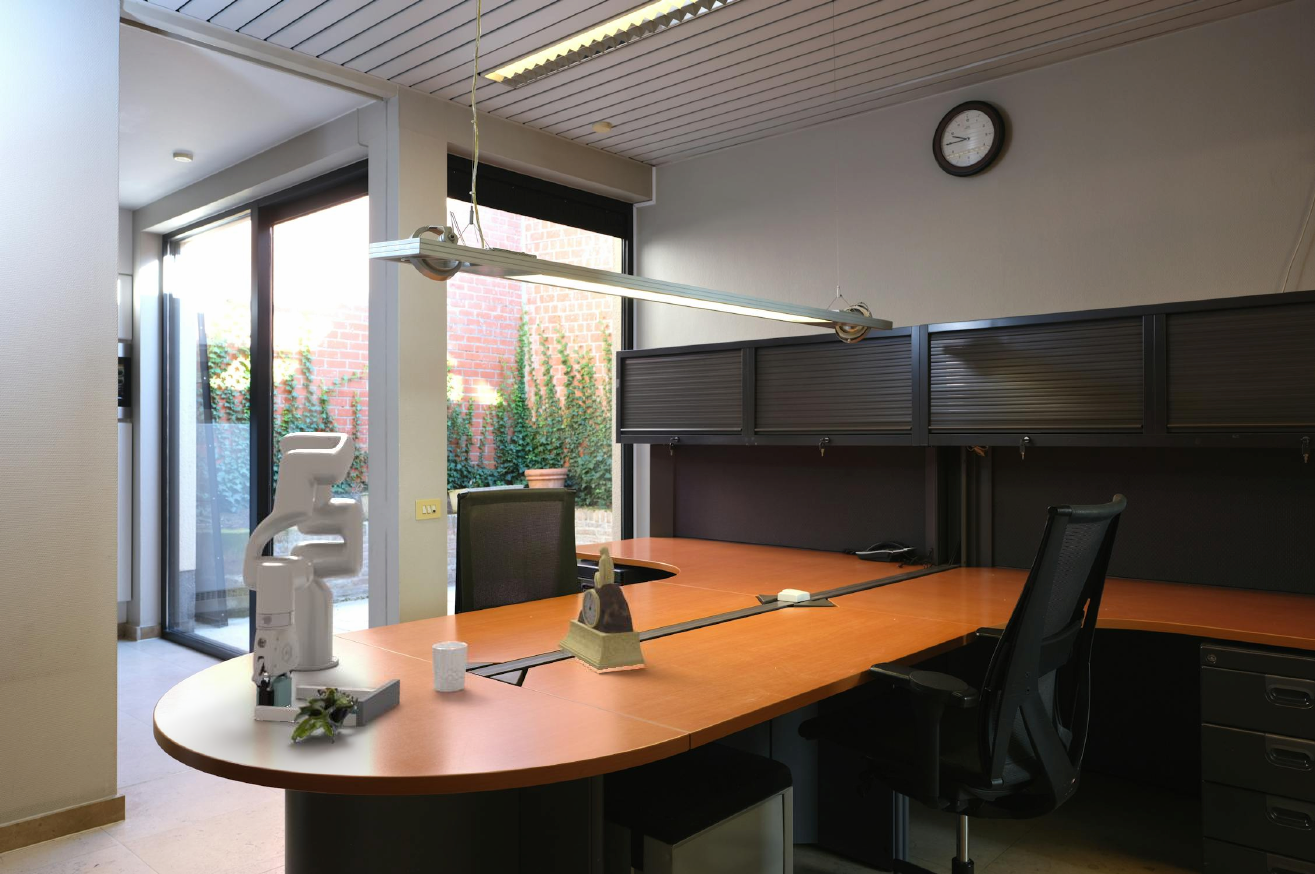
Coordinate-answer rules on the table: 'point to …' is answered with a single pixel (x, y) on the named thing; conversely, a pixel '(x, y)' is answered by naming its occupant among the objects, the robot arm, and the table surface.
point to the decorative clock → (604, 624)
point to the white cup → (449, 666)
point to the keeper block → (280, 691)
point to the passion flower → (325, 713)
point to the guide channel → (368, 699)
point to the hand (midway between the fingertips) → (274, 704)
